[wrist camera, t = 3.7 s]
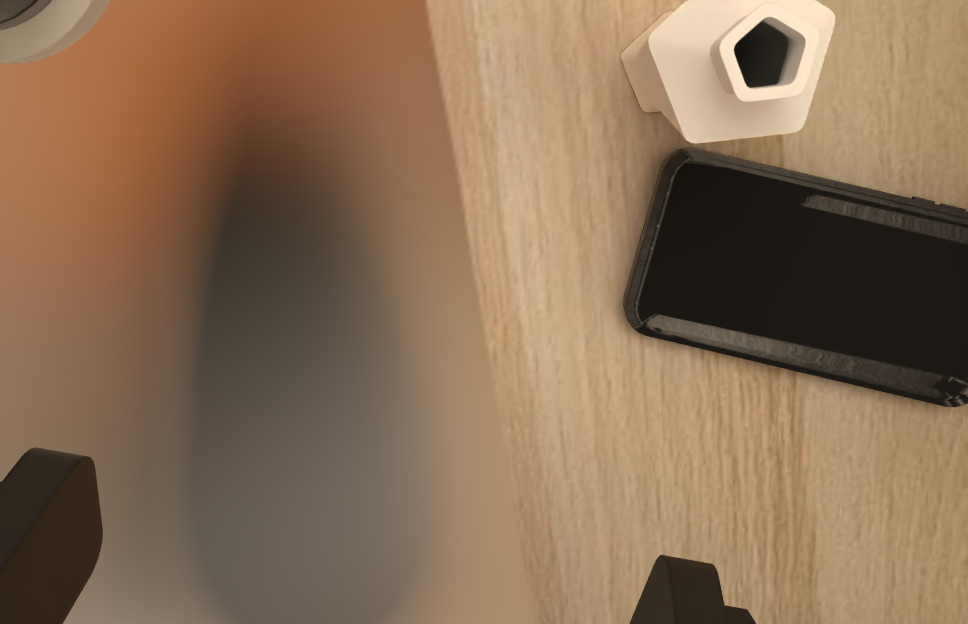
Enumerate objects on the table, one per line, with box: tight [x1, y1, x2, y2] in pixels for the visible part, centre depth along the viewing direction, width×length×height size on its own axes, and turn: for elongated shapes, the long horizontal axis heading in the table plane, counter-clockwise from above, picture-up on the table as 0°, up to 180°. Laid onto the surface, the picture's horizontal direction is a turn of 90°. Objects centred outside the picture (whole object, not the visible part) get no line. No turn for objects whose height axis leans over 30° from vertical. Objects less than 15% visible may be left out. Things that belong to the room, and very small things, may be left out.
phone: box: [623, 148, 968, 407], centre depth 34 cm, size 8×1×15 cm
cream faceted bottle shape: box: [621, 0, 835, 143], centre depth 26 cm, size 5×4×15 cm
